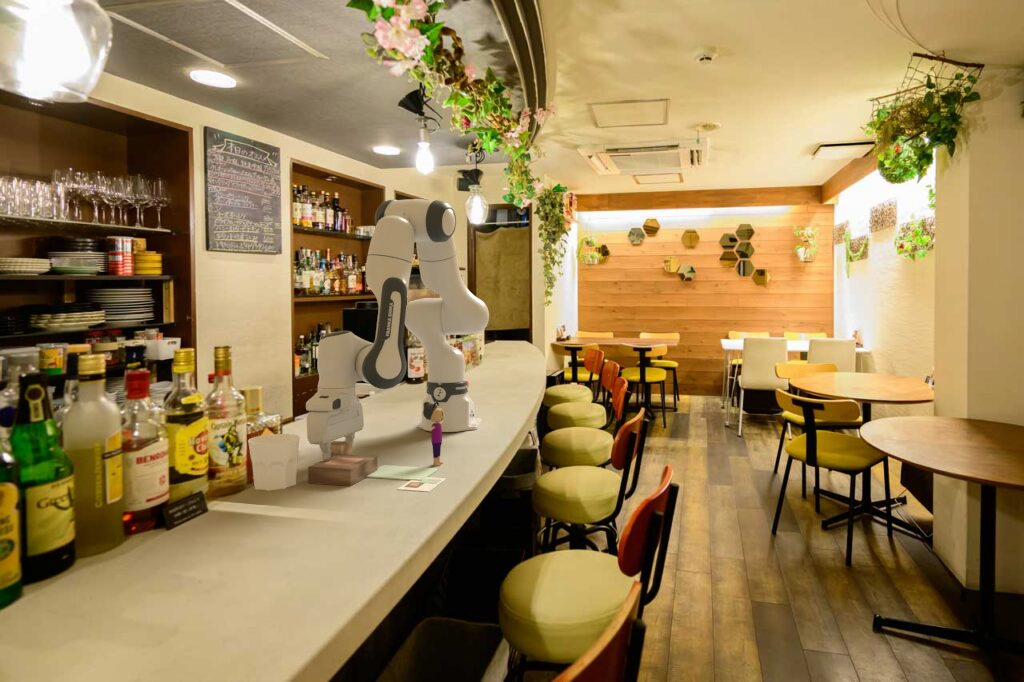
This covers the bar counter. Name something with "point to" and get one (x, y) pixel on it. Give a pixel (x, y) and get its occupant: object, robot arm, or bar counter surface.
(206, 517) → the bar counter surface
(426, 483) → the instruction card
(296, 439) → the cup
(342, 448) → the oak cube
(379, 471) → the sage mat
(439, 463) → the toy
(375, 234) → the robot arm
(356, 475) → the base brick
